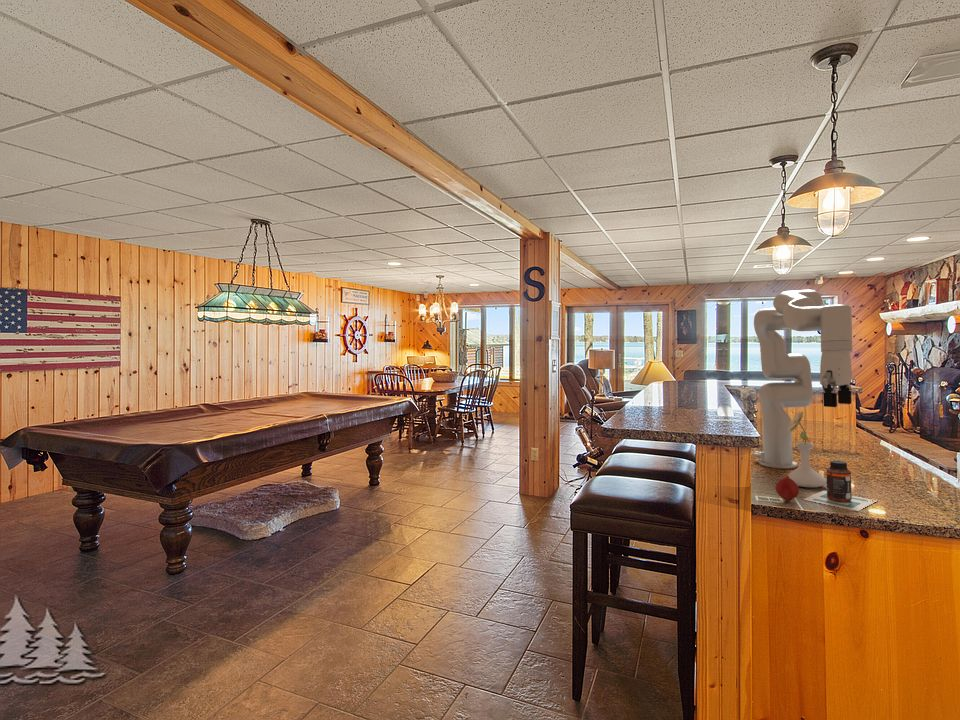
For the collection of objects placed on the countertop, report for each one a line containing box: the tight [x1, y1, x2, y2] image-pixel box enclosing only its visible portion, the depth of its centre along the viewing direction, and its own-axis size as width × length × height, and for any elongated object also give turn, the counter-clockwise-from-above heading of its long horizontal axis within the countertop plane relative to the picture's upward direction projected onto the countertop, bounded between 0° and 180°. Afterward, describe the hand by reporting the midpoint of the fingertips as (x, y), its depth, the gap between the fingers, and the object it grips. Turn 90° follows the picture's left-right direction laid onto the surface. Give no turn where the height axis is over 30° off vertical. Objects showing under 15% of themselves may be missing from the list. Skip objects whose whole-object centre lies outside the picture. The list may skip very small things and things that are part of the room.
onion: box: [775, 474, 800, 503], centre depth 148 cm, size 6×6×8 cm
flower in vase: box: [787, 410, 827, 488], centre depth 163 cm, size 13×11×25 cm
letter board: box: [802, 490, 878, 512], centre depth 147 cm, size 14×14×1 cm
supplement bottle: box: [826, 459, 853, 502], centre depth 147 cm, size 6×6×11 cm
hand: (837, 405), depth 147 cm, fingers open, 9 cm apart
